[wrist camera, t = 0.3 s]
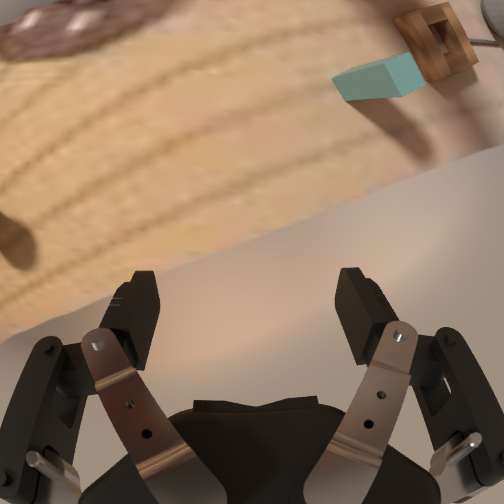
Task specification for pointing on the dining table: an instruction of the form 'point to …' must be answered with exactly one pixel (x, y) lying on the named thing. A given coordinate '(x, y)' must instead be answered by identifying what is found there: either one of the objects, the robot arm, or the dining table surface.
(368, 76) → the peg
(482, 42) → the dark grey rod
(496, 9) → the coffee pot
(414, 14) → the brown square slotted piece
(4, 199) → the dining table surface
